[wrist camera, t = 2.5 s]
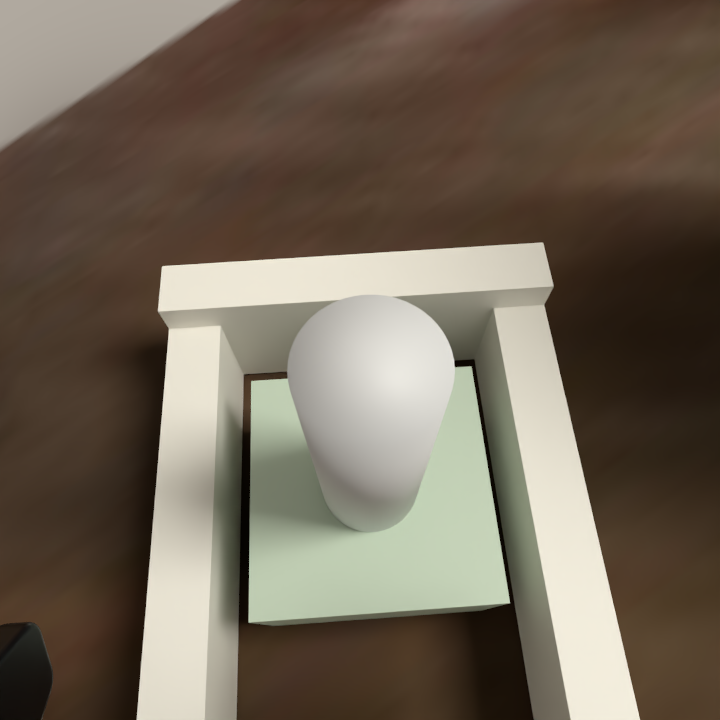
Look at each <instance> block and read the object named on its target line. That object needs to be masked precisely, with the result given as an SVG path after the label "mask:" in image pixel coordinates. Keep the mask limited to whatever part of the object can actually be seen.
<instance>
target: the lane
mask: <svg viewBox="0 0 720 720" xmlns="http://www.w3.org/2000/svg"><path fill="white" fill-rule="evenodd" d="M553 287H554V285H553V281H552V277H551V273H550V269H549V265H548V261H547V256H546V252H545V248H544V244H543V243H527V244H511V245H495V246H479V247H463V248H447V249H431V250H415V251H399V252H383V253H367V254H351V255H335V256H319V257H303V258H287V259H271V260H255V261H239V262H223V263H207V264H191V265H175V266H162V274H161V285H160V295H159V306H158V312H159V314H160V316H161V317H162V319H163V320H164V322H165V323H166V325H167V326H168V328H169V335H168V348H167V360H166V372H165V384H164V396H163V408H162V420H161V432H160V444H159V456H158V468H157V480H156V492H155V504H154V516H153V528H152V540H151V552H150V564H149V576H148V589H147V601H146V613H145V625H144V637H143V649H142V661H141V673H140V685H139V697H138V709H137V720H237V672H238V623H239V575H240V527H241V479H242V430H243V382H244V374H257V373H272V372H287V367H288V358H289V353H290V350H291V347H292V344H293V342H294V340H295V338H296V336H297V334H298V333H299V331H300V330H301V328H302V327H303V326H304V324H305V323H306V322H307V321H308V320H309V319H310V318H311V317H312V316H313V315H315V314H316V313H317V312H318V311H320V310H321V309H323V308H324V307H326V306H328V305H330V304H332V303H334V302H336V301H339V300H342V299H344V298H348V297H352V296H358V295H384V296H389V297H394V298H397V299H400V300H403V301H406V302H408V303H410V304H412V305H414V306H416V307H417V308H419V309H421V310H422V311H424V312H425V313H426V314H427V315H429V316H430V317H431V318H432V319H433V320H434V321H435V322H436V323H437V324H438V326H439V327H440V328H441V330H442V331H443V333H444V334H445V336H446V338H447V340H448V342H449V344H450V347H451V350H452V353H453V358H454V361H455V360H471V359H474V360H475V366H476V372H477V378H478V385H479V391H480V397H481V403H482V409H483V415H484V421H485V427H486V433H487V439H488V445H489V451H490V457H491V464H492V470H493V476H494V482H495V488H496V494H497V500H498V506H499V512H500V518H501V524H502V530H503V536H504V543H505V549H506V555H507V561H508V567H509V573H510V579H511V585H512V591H513V597H514V603H515V609H516V615H517V622H518V628H519V634H520V640H521V646H522V652H523V658H524V664H525V670H526V676H527V682H528V688H529V694H530V701H531V707H532V713H533V719H534V720H640V718H639V713H638V709H637V705H636V700H635V696H634V692H633V687H632V683H631V679H630V674H629V670H628V666H627V661H626V657H625V653H624V648H623V644H622V640H621V635H620V631H619V627H618V622H617V618H616V614H615V609H614V605H613V601H612V596H611V592H610V588H609V583H608V579H607V575H606V570H605V566H604V562H603V557H602V553H601V549H600V544H599V540H598V536H597V531H596V527H595V523H594V518H593V514H592V510H591V505H590V501H589V497H588V492H587V488H586V484H585V479H584V475H583V471H582V466H581V462H580V458H579V453H578V449H577V445H576V440H575V436H574V432H573V427H572V423H571V419H570V414H569V410H568V406H567V401H566V397H565V393H564V388H563V384H562V380H561V375H560V371H559V367H558V362H557V358H556V354H555V349H554V345H553V341H552V336H551V332H550V328H549V323H548V319H547V315H546V310H545V306H544V304H545V302H546V300H547V298H548V296H549V295H550V293H551V291H552V289H553Z"/></svg>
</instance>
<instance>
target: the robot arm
mask: <svg viewBox="0 0 720 720" xmlns="http://www.w3.org/2000/svg"><path fill="white" fill-rule="evenodd" d="M52 684H53V670H52V666H51V663H50V659H49V656H48V653H47V650H46V646H45V643H44V640H43V637H42V633H41V631H40V628H39V627H38V626H37V625H36V624H35V623H32V622H23V623H9V624H3V625H0V720H42V717H43V714H44V711H45V708H46V705H47V702H48V699H49V696H50V693H51V689H52Z"/></svg>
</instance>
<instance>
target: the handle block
mask: <svg viewBox="0 0 720 720" xmlns="http://www.w3.org/2000/svg"><path fill="white" fill-rule="evenodd" d="M287 375H288V379H275V380H260V381H251V456H250V540H249V623H255V624H262V625H270V626H281V625H295V624H308V623H322V622H335V621H349V620H362V619H376V618H389V617H403V616H416V615H430V614H443V613H457V612H470V611H482V610H486V609H489V608H493V607H497V606H501V605H505V604H509V603H510V599H509V593H508V587H507V581H506V575H505V569H504V563H503V557H502V550H501V544H500V538H499V532H498V526H497V520H496V514H495V507H494V501H493V495H492V489H491V483H490V477H489V471H488V464H487V458H486V452H485V446H484V440H483V434H482V428H481V422H480V415H479V409H478V403H477V397H476V391H475V385H474V379H473V372H472V366H468V367H455V365H454V358H453V353H452V350H451V347H450V344H449V342H448V340H447V338H446V336H445V334H444V333H443V331H442V330H441V328H440V327H439V326H438V324H437V323H436V322H435V321H434V320H433V319H432V318H431V317H430V316H429V315H427V314H426V313H425V312H424V311H422V310H421V309H419V308H417V307H416V306H414V305H412V304H410V303H408V302H406V301H403V300H400V299H397V298H394V297H389V296H384V295H358V296H352V297H348V298H344V299H342V300H339V301H336V302H334V303H332V304H330V305H328V306H326V307H324V308H323V309H321V310H320V311H318V312H317V313H316V314H315V315H313V316H312V317H311V318H310V319H309V320H308V321H307V322H306V323H305V324H304V326H303V327H302V328H301V330H300V331H299V333H298V334H297V336H296V338H295V340H294V342H293V344H292V347H291V350H290V353H289V358H288V367H287Z"/></svg>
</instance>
